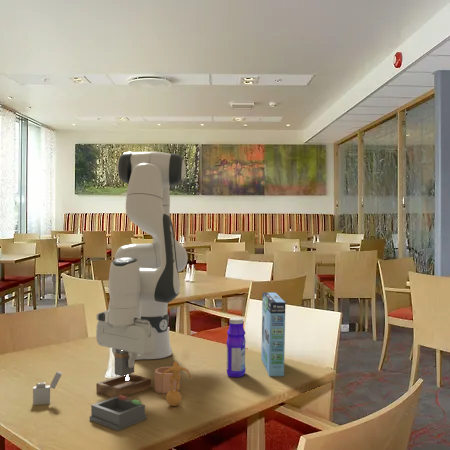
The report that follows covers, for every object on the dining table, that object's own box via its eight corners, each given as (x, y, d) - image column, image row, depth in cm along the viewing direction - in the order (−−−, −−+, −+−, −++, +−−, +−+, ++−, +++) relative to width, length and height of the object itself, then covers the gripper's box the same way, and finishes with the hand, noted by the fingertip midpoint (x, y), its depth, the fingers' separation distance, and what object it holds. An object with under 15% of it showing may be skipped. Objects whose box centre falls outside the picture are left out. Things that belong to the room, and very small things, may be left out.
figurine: (187, 401, 139) (187, 356, 138) (193, 409, 133) (193, 362, 132) (156, 404, 136) (156, 358, 136) (160, 413, 130) (160, 365, 130)
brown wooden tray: (96, 392, 145) (96, 383, 145) (129, 381, 155) (129, 373, 155) (118, 399, 140) (118, 390, 140) (150, 387, 149) (150, 379, 149)
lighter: (32, 405, 135) (32, 374, 135) (33, 402, 137) (33, 372, 137) (61, 402, 137) (61, 372, 137) (62, 400, 139) (61, 370, 139)
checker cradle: (89, 420, 126) (89, 403, 125) (118, 409, 133) (118, 393, 133) (117, 430, 119) (117, 413, 119) (146, 418, 127) (146, 402, 126)
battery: (114, 374, 146) (114, 351, 146) (126, 370, 149) (126, 347, 149) (121, 376, 144) (121, 352, 144) (134, 372, 147) (134, 349, 147)
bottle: (243, 379, 158) (243, 321, 157) (224, 377, 159) (224, 320, 158) (247, 371, 165) (247, 316, 164) (229, 370, 166) (229, 315, 165)
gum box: (261, 359, 179) (261, 292, 179) (276, 359, 180) (276, 292, 179) (268, 376, 160) (269, 301, 159) (285, 376, 160) (286, 301, 160)
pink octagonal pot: (149, 389, 147) (149, 370, 147) (167, 383, 153) (167, 365, 153) (167, 395, 143) (167, 375, 143) (184, 388, 148) (184, 369, 148)
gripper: (159, 318, 143) (159, 369, 143) (109, 310, 155) (109, 357, 155) (142, 322, 138) (142, 375, 138) (92, 313, 150) (92, 362, 150)
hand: (124, 365), depth 147 cm, fingers closed on battery, 3 cm apart
